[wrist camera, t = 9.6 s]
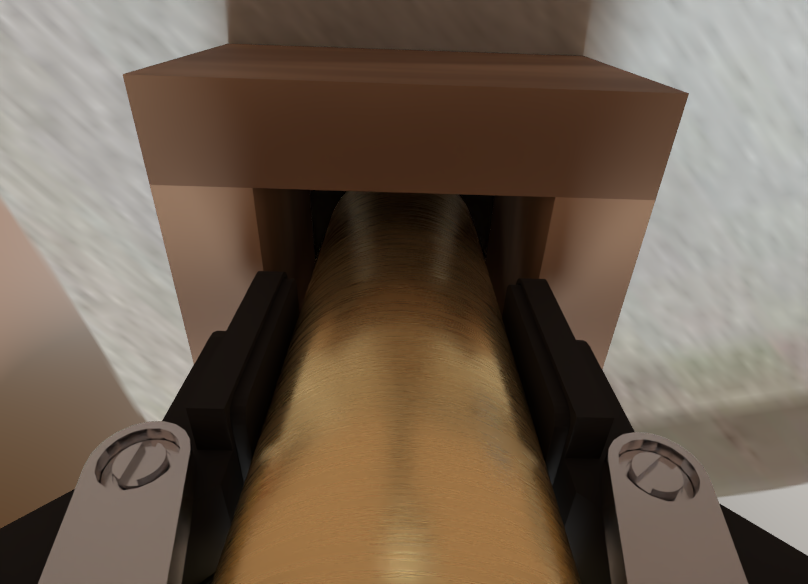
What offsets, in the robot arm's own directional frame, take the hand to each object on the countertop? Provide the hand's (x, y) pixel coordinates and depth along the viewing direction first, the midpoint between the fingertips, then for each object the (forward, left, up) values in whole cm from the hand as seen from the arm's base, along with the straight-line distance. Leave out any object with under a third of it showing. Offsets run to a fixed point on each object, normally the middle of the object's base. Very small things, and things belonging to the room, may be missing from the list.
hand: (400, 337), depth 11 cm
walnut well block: (0, 0, -7) cm, 7 cm away
